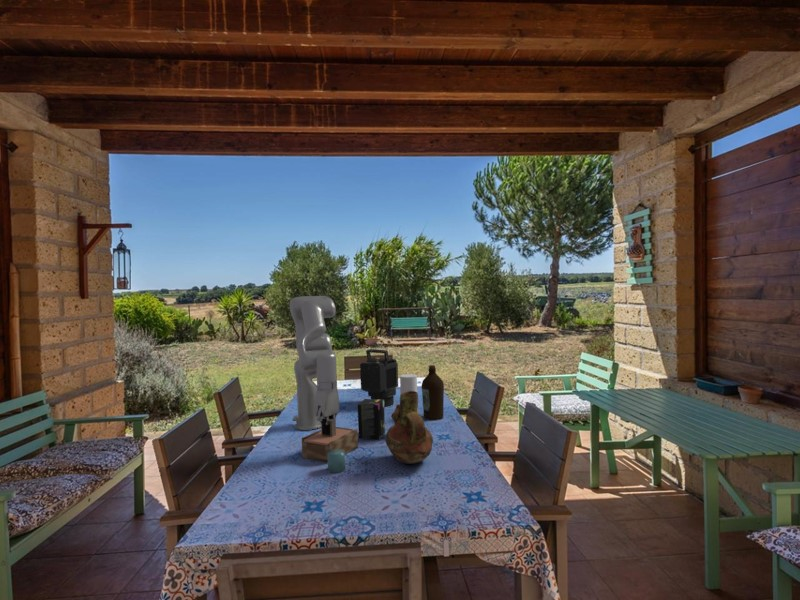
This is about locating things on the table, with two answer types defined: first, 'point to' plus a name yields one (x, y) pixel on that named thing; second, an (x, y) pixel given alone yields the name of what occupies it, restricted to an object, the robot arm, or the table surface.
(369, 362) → the lantern
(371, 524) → the table surface
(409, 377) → the cylindrical container
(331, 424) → the brown piece
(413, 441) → the ceramic vessel
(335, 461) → the teal rounded piece
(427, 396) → the dark brown bottle
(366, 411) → the tampon box
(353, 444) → the box
